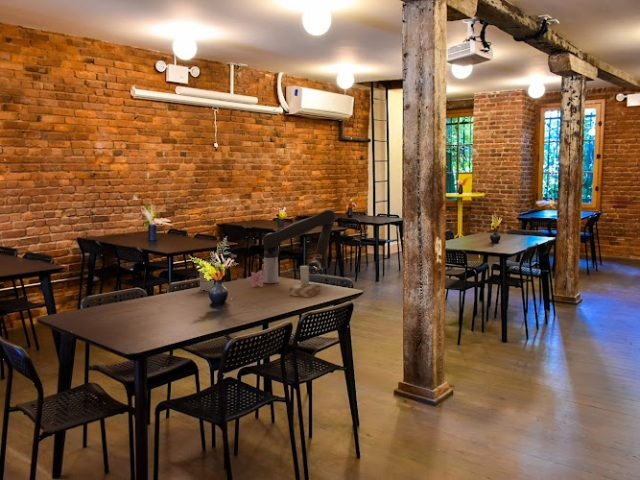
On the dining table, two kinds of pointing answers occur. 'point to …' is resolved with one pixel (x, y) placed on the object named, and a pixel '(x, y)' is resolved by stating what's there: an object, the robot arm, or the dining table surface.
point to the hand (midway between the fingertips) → (308, 271)
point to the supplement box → (205, 283)
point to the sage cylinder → (304, 276)
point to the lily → (256, 278)
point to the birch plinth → (305, 290)
